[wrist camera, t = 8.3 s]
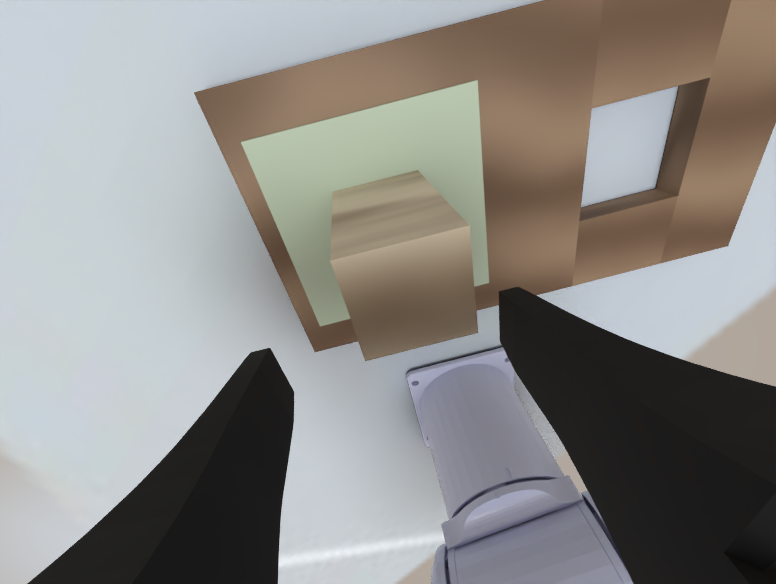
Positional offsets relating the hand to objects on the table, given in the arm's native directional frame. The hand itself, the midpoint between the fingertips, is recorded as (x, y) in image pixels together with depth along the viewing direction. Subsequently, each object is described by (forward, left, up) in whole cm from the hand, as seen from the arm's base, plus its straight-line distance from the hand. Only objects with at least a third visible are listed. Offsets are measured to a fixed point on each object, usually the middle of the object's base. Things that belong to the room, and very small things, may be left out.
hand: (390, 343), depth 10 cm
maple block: (+1, -1, -8) cm, 8 cm away
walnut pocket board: (+1, -8, -9) cm, 12 cm away
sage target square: (+1, -1, -8) cm, 8 cm away
